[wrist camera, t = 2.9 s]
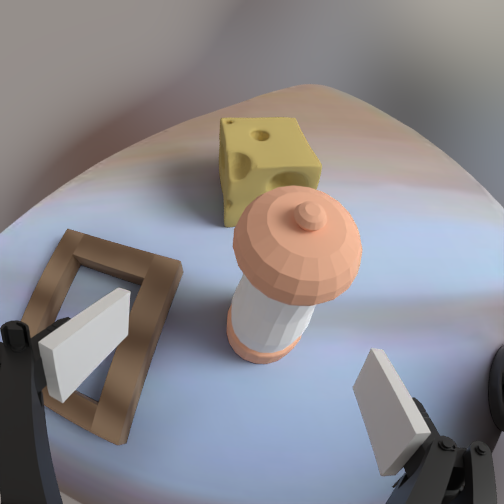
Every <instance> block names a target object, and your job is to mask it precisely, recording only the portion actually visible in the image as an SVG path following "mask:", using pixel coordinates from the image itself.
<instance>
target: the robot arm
mask: <svg viewBox="0 0 504 504" xmlns="http://www.w3.org/2000/svg"><path fill="white" fill-rule="evenodd" d="M130 292H131V291H128V290H125V289H122V288H119V287H118V288H117V289H115V290H114V291H112V292H111V293H109V294H108V295H106V296H105V297H103V298H101V299H100V300H98V301H97V302H95V303H94V304H92V305H91V306H89V307H88V308H87V309H85V310H84V311H82V312H81V313H79V314H78V315H76V316H75V317H73V318H72V319H71V318H69V317H66V318H63V319H59V320H57V321H56V322H54V323H53V324H51V325H50V326H48V327H47V328H46V329H44V330H42V331H41V332H39V333H38V334H36V335H35V336H33V337H32V338H31V337H30V331H29V326H28V325H27V324H26V323H24V322H22V321H9V322H6V323H5V324H3V325H2V327H1V328H0V330H1V335H2V340H3V343H2V342H0V494H1V504H63V503H62V499H61V496H60V492H59V488H58V484H57V481H56V476H55V472H54V468H53V463H52V458H51V453H50V447H49V441H48V435H47V428H46V420H45V411H44V399H43V393H42V389H43V388H44V387H45V386H47V388H48V392H49V395H50V396H51V397H53V398H55V399H56V400H58V401H60V402H61V403H64V402H65V400H66V399H67V398H68V397H69V396H70V395H71V394H72V393H73V392H74V391H75V390H76V389H77V388H78V387H79V385H80V384H81V383H82V382H83V381H84V380H85V379H86V378H87V377H88V376H89V375H90V374H91V373H92V372H93V371H94V370H95V369H96V368H97V366H98V365H99V364H100V363H101V362H102V361H103V360H104V359H105V358H106V357H107V356H108V355H109V354H110V353H111V352H112V351H113V350H114V349H115V348H116V347H117V346H118V345H119V344H120V343H121V342H122V341H123V340H124V339H125V338H126V337H127V335H128V325H129V306H130ZM353 390H354V393H355V396H356V399H357V402H358V405H359V408H360V411H361V414H362V417H363V420H364V423H365V426H366V429H367V432H368V435H369V439H370V442H371V445H372V448H373V451H374V455H375V458H376V461H377V464H378V468H379V471H380V475H381V476H391V475H396V474H397V473H398V472H399V471H400V470H401V469H402V468H403V467H404V469H405V472H406V473H405V474H404V475H403V476H402V477H401V478H400V479H399V480H398V481H397V482H396V483H395V484H394V485H393V486H392V487H393V488H394V487H395V486H396V485H397V486H396V488H395V489H394V491H393V493H392V494H391V496H390V498H389V499H388V501H387V502H386V504H497V495H496V484H495V476H494V467H493V461H492V454H491V451H490V448H489V447H488V445H487V444H485V443H484V442H481V441H474V442H472V444H471V445H470V446H469V447H468V449H464V448H457V445H456V443H455V442H454V441H453V440H452V439H450V438H449V437H446V436H440V435H439V433H438V431H437V430H436V428H435V426H434V424H433V423H432V421H431V419H430V418H429V416H428V414H427V412H426V410H425V409H424V407H423V405H422V404H421V403H420V402H419V401H418V400H417V399H416V398H412V397H411V396H410V394H409V392H408V391H407V389H406V387H405V385H404V384H403V382H402V380H401V379H400V377H399V375H398V374H397V372H396V370H395V369H394V367H393V365H392V364H391V362H390V360H389V359H388V357H387V355H386V354H385V352H384V351H383V350H381V349H374V348H371V350H370V352H369V354H368V356H367V359H366V361H365V363H364V365H363V367H362V369H361V371H360V373H359V376H358V378H357V380H356V382H355V384H354V386H353ZM489 404H490V410H491V414H492V417H493V420H494V422H495V424H496V426H497V427H498V428H499V429H500V430H501V431H503V432H504V345H503V346H502V347H501V348H500V349H499V351H498V352H497V354H496V356H495V358H494V361H493V364H492V368H491V373H490V379H489ZM464 484H465V486H464V489H463V485H464Z"/></svg>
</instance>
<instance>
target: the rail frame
mask: <svg viewBox="0 0 504 504" xmlns="http://www.w3.org/2000/svg"><path fill="white" fill-rule="evenodd" d="M81 265H83V266H86V267H88V268H91V269H94V270H97V271H100V272H102V273H105V274H108V275H111V276H114V277H117V278H120V279H123V280H126V281H129V282H132V283H135V284H138V285H141V287H140V290H139V292H138V295H137V297H136V299H135V302H134V304H133V307H132V309H131V312H130V314H129V325H128V335H127V337H126V338H125V339H124V340H123V341H122V342H121V343H120V344H119V345H118V346H117V348H116V351H115V354H114V357H113V360H112V363H111V366H110V368H109V371H108V374H107V377H106V380H105V384H104V387H103V390H102V393H101V396H100V399H99V402H97V401H95V400H93V399H91V398H89V397H87V396H85V395H84V394H82V393H80V392H78V391H76V390H75V391H74V392H73V393H72V394H71V395H70V396H69V397H68V398H67V399H66V400H65V402H64V403H61V402H60V401H58V400H56V399H55V398H53V397H51V396H50V395H49V392H48V388H47V386H45V387H44V388H43V389H42V393H43V399H44V405H45V406H47V407H48V408H50V409H51V410H53V411H54V412H56V413H58V414H59V415H61V416H63V417H64V418H66V419H68V420H69V421H71V422H73V423H75V424H76V425H78V426H80V427H82V428H84V429H85V430H87V431H89V432H91V433H93V434H95V435H97V436H99V437H101V438H103V439H105V440H107V441H109V442H111V443H114V444H116V445H122V444H125V443H127V439H128V435H129V432H130V428H131V425H132V421H133V418H134V414H135V411H136V408H137V404H138V401H139V398H140V395H141V391H142V388H143V385H144V382H145V379H146V376H147V372H148V369H149V366H150V363H151V360H152V357H153V354H154V351H155V348H156V345H157V343H158V340H159V337H160V334H161V331H162V328H163V325H164V323H165V320H166V317H167V314H168V312H169V309H170V306H171V303H172V301H173V298H174V295H175V293H176V290H177V287H178V285H179V282H180V280H181V277H182V274H183V269H182V265H181V261H179V260H175V259H171V258H168V257H164V256H160V255H157V254H153V253H149V252H146V251H142V250H139V249H135V248H132V247H128V246H125V245H121V244H118V243H114V242H111V241H107V240H104V239H101V238H97V237H94V236H90V235H87V234H84V233H80V232H77V231H74V230H70V229H67V230H66V232H65V234H64V235H63V237H62V239H61V240H60V242H59V244H58V246H57V247H56V249H55V251H54V253H53V255H52V256H51V258H50V260H49V262H48V264H47V266H46V268H45V270H44V272H43V274H42V276H41V278H40V280H39V282H38V284H37V286H36V288H35V290H34V292H33V294H32V296H31V299H30V301H29V303H28V305H27V308H26V310H25V312H24V315H23V317H22V319H21V321H22V322H24V323H26V324H27V325H28V326H29V331H30V337H31V338H32V337H33V336H35V335H36V334H38V333H39V332H41V331H42V330H44V329H46V328H47V327H48V326H50V325H51V324H53V323H54V322H55V319H56V317H57V315H58V312H59V310H60V308H61V305H62V303H63V301H64V299H65V296H66V294H67V292H68V290H69V288H70V286H71V284H72V282H73V280H74V277H75V275H76V273H77V271H78V269H79V268H80V266H81Z"/></svg>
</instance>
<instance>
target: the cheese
mask: <svg viewBox="0 0 504 504" xmlns="http://www.w3.org/2000/svg"><path fill="white" fill-rule="evenodd" d="M219 139H220V148H219V175H220V182H221V188H222V192H223V198H224V225H225V227H235V226H236V225H237V223H238V221H239V219H240V217H241V215H242V213H243V211H244V209H245V208H246V207H247V206H248V205H249V204H250V203H251V202H252V201H253V200H254V199H256V198H257V197H258V196H260V195H262V194H264V193H266V192H268V191H271V190H273V189H275V188H278V187H285V186H293V185H294V186H302V187H310V188H313V189H315V190H316V189H317V186H318V183H319V179H320V175H321V169H322V164H321V163H320V161H319V160H318V158H317V156H316V155H315V153H314V152H313V151H312V149H311V147H310V146H309V144H308V142H307V140H306V138H305V137H304V135H303V133H302V131H301V129H300V127H299V125H298V123H297V121H296V119H295V118H285V117H269V118H221V119H220V134H219Z"/></svg>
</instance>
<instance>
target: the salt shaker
mask: <svg viewBox="0 0 504 504" xmlns="http://www.w3.org/2000/svg"><path fill="white" fill-rule="evenodd" d="M233 249H234V253H235V256H236V259H237V263H238V266H239V267H240V269H241V270H242V272H243V277H242V279H241V280H240V282H239V284H238V286H237V288H236V291H235V293H234V295H233V297H232V304H231V306H230V308H229V311H228V316H227V337H228V340H229V344H230V345H231V347H232V348H233V350H234V351H235V353H237V354H238V355H239V356H240V357H242V358H243V359H244V360H247V361H250V362H252V363H256V364H268V363H272V362H275V361H278V360H279V359H281V358H282V357H284V356H285V355H287V354H288V353H289V352H290V351H291V350H292V349H293V348H294V347H295V345H296V344H297V343H298V341H299V340H300V338H301V335H302V333H303V332H304V331H305V329H306V328H307V326H308V325H309V322H310V319H311V316H312V314H313V311H314V308H315V306H316V305H317V304H320V303H323V302H327V301H330V300H334V299H335V298H336V297H338V296H339V295H340V294H342V293H343V292H344V291H346V290H347V289H348V288H349V287H350V285H351V284H352V282H353V280H354V279H355V277H356V275H357V274H358V270H359V267H360V261H361V255H362V245H361V240H360V235H359V231H358V228H357V226H356V224H355V222H354V220H353V218H352V217H351V215H350V213H349V212H348V211H347V210H346V209H345V208H344V207H343V206H342V205H341V204H340V203H339V202H338V201H337V200H335V199H334V198H332V197H330V196H329V195H327V194H326V193H324V192H321V191H318V190H315V189H313V188H310V187H302V186H294V185H293V186H285V187H278V188H275V189H273V190H271V191H268V192H266V193H264V194H262V195H260V196H258V197H257V198H256V199H254V200H253V201H252V202H251V203H250V204H249V205H248V206H247V207H246V208H245V209H244V211H243V213H242V215H241V217H240V219H239V221H238V223H237V225H236V227H235V229H234V238H233Z"/></svg>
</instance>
